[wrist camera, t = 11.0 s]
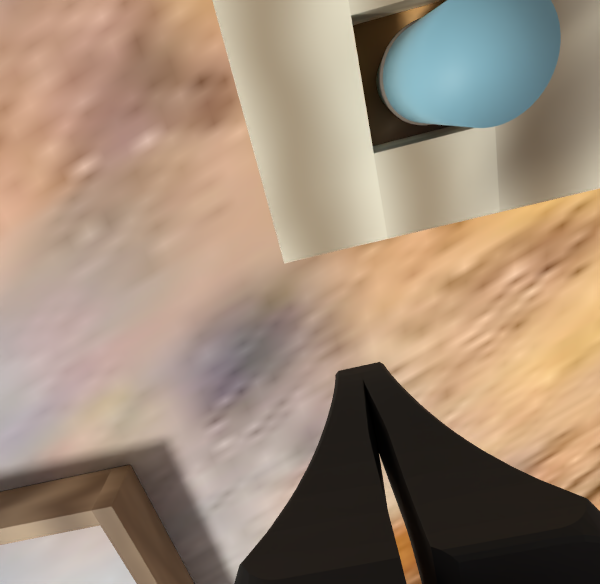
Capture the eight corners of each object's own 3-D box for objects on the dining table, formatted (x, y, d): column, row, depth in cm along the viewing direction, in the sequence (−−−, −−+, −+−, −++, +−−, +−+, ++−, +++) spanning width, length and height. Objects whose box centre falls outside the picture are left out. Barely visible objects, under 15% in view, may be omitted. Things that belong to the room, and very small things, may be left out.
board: (579, -157, 15) (631, -205, 13) (573, 176, 20) (611, 185, 17) (206, -47, 16) (192, -72, 14) (284, 246, 21) (284, 263, 18)
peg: (449, 22, 17) (569, -44, 10) (451, 115, 19) (558, 118, 11) (363, 38, 17) (418, -15, 10) (371, 130, 19) (425, 142, 11)
